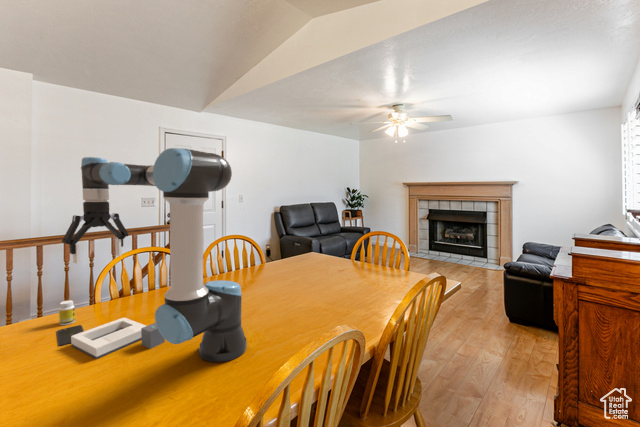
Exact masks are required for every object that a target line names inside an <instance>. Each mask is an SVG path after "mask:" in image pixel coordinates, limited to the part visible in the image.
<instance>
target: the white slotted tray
mask: <svg viewBox="0 0 640 427" xmlns="http://www.w3.org/2000/svg"><path fill="white" fill-rule="evenodd" d="M146 326H147V325H145V324H143V323H140V322H138V321H135V320H132V319H129V318H127V317H121V318H119V319H116V320H113V321H110V322H107V323H104V324H101V325H99V326H96V327H94V328H93V327H92V328H90V329H87V330H83V331H84V332H81V333H78V334H76V335H73V336H71V344H70V345H71V347H73V348H75V349H76V350H78V351H80V352H82V353H84V354H85V355H88V356H90V357H91V358H93V359H95V360H99V359H101V358H104V357H105V356H108V355H110V354H112V353H114V352H117V351H119V350H122V349H124V348H127V347H128V346H130V345H132V344H135V343H137V342H139V341H142V335H141V328H143V327H146Z"/></svg>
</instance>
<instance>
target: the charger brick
mask: <svg viewBox="0 0 640 427" xmlns="http://www.w3.org/2000/svg"><path fill="white" fill-rule="evenodd" d="M141 335H142V340H141V346H143V347H145V348H148V349H151V350H152V349H154V348H155V347H158V346H160V345H162V344H163V343H165V341H166V340H165V339H164V338H163V336H162V335H161V334H160V332H159V330H158V328H157V326H156V322H154V323H152V324H151V323H150V324H148V325H146V327H143V328H141Z"/></svg>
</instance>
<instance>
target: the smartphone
mask: <svg viewBox="0 0 640 427" xmlns="http://www.w3.org/2000/svg"><path fill="white" fill-rule="evenodd" d="M84 331H85V330H84V327H83V325H81V324H78V325H74V326H70V327H66V328H65V327H64V328H61V329H58V330H57V331H56V338H57V345H58V346H57V347H63V346H67V345H72V344H71V336H73V335H76V334H78V333H81V332H84Z"/></svg>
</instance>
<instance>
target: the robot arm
mask: <svg viewBox="0 0 640 427" xmlns="http://www.w3.org/2000/svg"><path fill="white" fill-rule="evenodd" d="M80 170H81V183H82V184H81V185H82V200H83V203H82V206H83V207H82V208H83V209H82V210H83V215H76V214H75V215H72V218H71V219H72V220H71V223H70V224H69V225H70V226H69V227H68V229H67V231H66V233H65V235H64V236H63V239H62V240H61V243H63V244H67V245H68V246H69V247H68V248H69V254H70V255H72V262H73V263H74V264H80V263H81V260H80V257H81V256H80V245H79V241H80V240H81V238H82V237H83V236H84V235H85V234H86V233H87V232H88V231H89V230H90V229H92V228H98V227H101V228H103V227H105V228H106V229H107V230H109V231H110V233H112V234H113V235H114V236H115V237H116V238H114V249H115V250H114V252H115V256H116V257H117V256H118V257H122V255H123V254H122V248H124V240H125V238H126V237H128V236H129V233H128V231H127V230H126V227H125V226H124V224H123V222H122V220H121V219H120V215H119V213H117V212H113V213H111V214H110V202H109V200H110V192H109V190H110V187H109V186H148V187H155V188H157V189H158V190H159V191H160V192H162V193H163V194H162V196H163V199H164V200H165V201H166V202H167V203H168V204H169V252H170V253H169V255H170V256H169V257H170V258H169V259H170V260H169V261H170V264H169V265H170V266H169V267H170V276H169V277H170V280H169V281H170V288H169V289H168V290H167V291H166V292H165V293H164V303H163V304H161V305H160V306H159V307H157V309H156V310H155V313H154V321H155V322H154V323H156V326H157V328H158V330H159V332H160V334H161V335H162V336H163V338H164V339H165V341H167V342H168V343H170V344H173V345H180V344H182V343H184V342H186V341H191V340H192V339H193V338H196V336H199V335H201V334H202V338H201V342H200V343H199V347H198V349H199V350H198V351H199V352H198V355H199V357H200V358H201V359H202V360H203V361H206V362H209V363H222V362H228V361H231V360H234V359H237V358H239V357H240V356H242V355H243V354H245V352H246V351H247V343H248V342H247V338H246V336H245V332H244V329H243V327H242V326H243V325H242V287H241V285H240V284H239V283H238V282H235V281H231V280H211V281H207V282H205V284H204V204H205V202H207V201H208V199H209V197H210V196H209V194H210V192H219V191H221V190H224V188H227V186H228V184H230V182H231V180H232V177H233V176H232V174H233V172H232V167H231V164H230V163H229V161H227V159H225V157H223V156H221V155H220V154H217V153H213V152H207V151H199V150H194V149H190V148H189V149H188V148H182V147H181V148H177V147H170V148H166V149H165V150H163V151H161V153H160V154H159V156H157V158H156V160H155V162H154V164H153V165H152V164H151V165H139V164H132V163H131V164H130V163H122V162H115V161H110V162H108V160H107V159H106V158H104V157H103V158H102V157H94V156H93V157H92V156H90V157H89V156H86V157H82V159H81V167H80ZM110 219H111V220H112V221H113V223H114V225H115V226H116V227H117V228H116V227H115V226H114V225H113V224H112V223H111V222H110ZM83 221H84V223H83V224H82V225H81V227H80V228H79V230H78V231H77V229H78V227H79V226H80V223H81V222H83ZM76 231H77V232H76Z"/></svg>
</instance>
